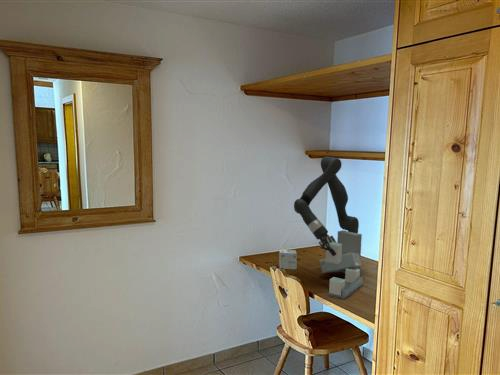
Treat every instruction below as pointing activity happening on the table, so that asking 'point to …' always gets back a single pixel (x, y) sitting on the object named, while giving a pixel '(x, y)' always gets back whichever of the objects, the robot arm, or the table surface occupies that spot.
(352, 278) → the mounted module
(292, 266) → the light bulb box
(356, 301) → the table surface
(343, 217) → the robot arm
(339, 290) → the mounted module
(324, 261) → the hard drive box
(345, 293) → the rail
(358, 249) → the tall upright rectangular panel
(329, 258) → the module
